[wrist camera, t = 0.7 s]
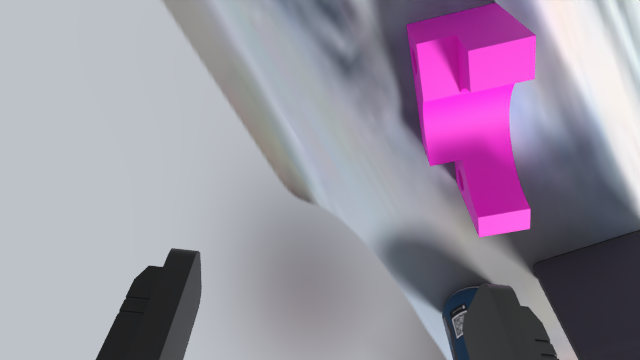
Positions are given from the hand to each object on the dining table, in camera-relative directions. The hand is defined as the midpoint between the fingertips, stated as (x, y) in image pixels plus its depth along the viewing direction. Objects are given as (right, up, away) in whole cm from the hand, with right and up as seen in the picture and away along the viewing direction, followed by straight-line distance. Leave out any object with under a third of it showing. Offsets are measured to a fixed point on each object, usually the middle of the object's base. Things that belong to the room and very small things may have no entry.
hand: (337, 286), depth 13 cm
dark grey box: (+27, -5, +33) cm, 42 cm away
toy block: (+11, +9, +23) cm, 27 cm away
